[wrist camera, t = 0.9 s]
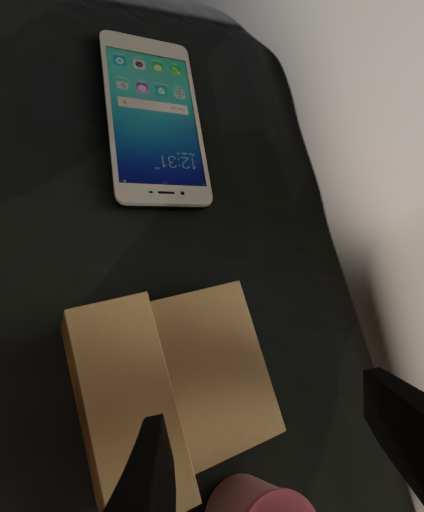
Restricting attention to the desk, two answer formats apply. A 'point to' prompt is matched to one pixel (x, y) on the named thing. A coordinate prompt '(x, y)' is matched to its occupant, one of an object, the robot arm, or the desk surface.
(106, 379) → the step shelf
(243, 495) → the pink cylinder
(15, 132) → the desk surface
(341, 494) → the desk surface
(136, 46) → the smartphone
